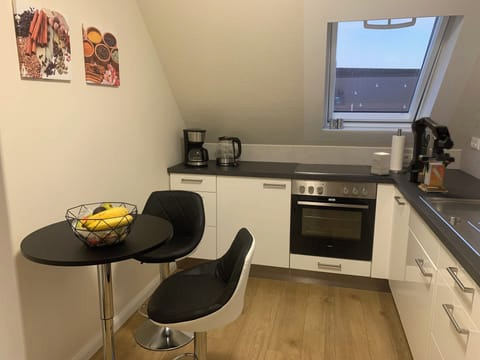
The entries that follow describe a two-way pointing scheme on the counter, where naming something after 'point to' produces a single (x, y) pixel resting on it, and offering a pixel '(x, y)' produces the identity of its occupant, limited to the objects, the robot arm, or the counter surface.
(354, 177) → the counter surface
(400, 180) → the counter surface
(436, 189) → the wooden tray
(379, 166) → the supplement box
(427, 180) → the small box
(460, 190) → the counter surface
